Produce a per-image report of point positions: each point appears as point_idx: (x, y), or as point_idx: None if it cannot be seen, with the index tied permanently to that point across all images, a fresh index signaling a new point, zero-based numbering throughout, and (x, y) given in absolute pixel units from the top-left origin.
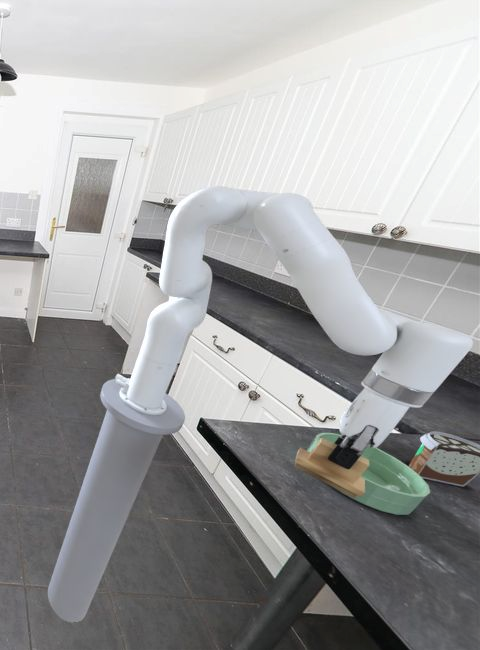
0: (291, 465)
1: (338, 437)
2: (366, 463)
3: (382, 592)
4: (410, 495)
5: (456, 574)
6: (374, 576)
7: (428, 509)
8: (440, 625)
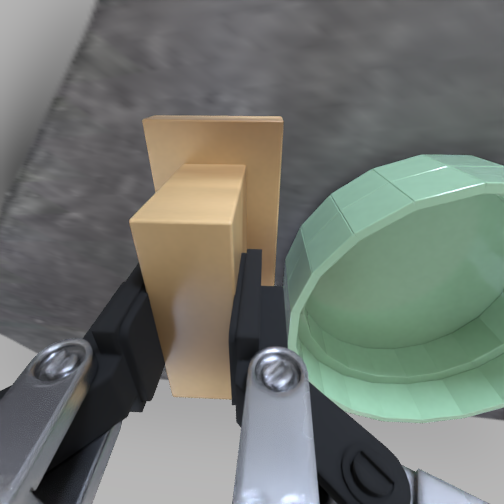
0: (324, 121)
1: (258, 332)
2: (179, 391)
3: (20, 299)
4: None
5: None
6: (47, 292)
7: None
8: None
